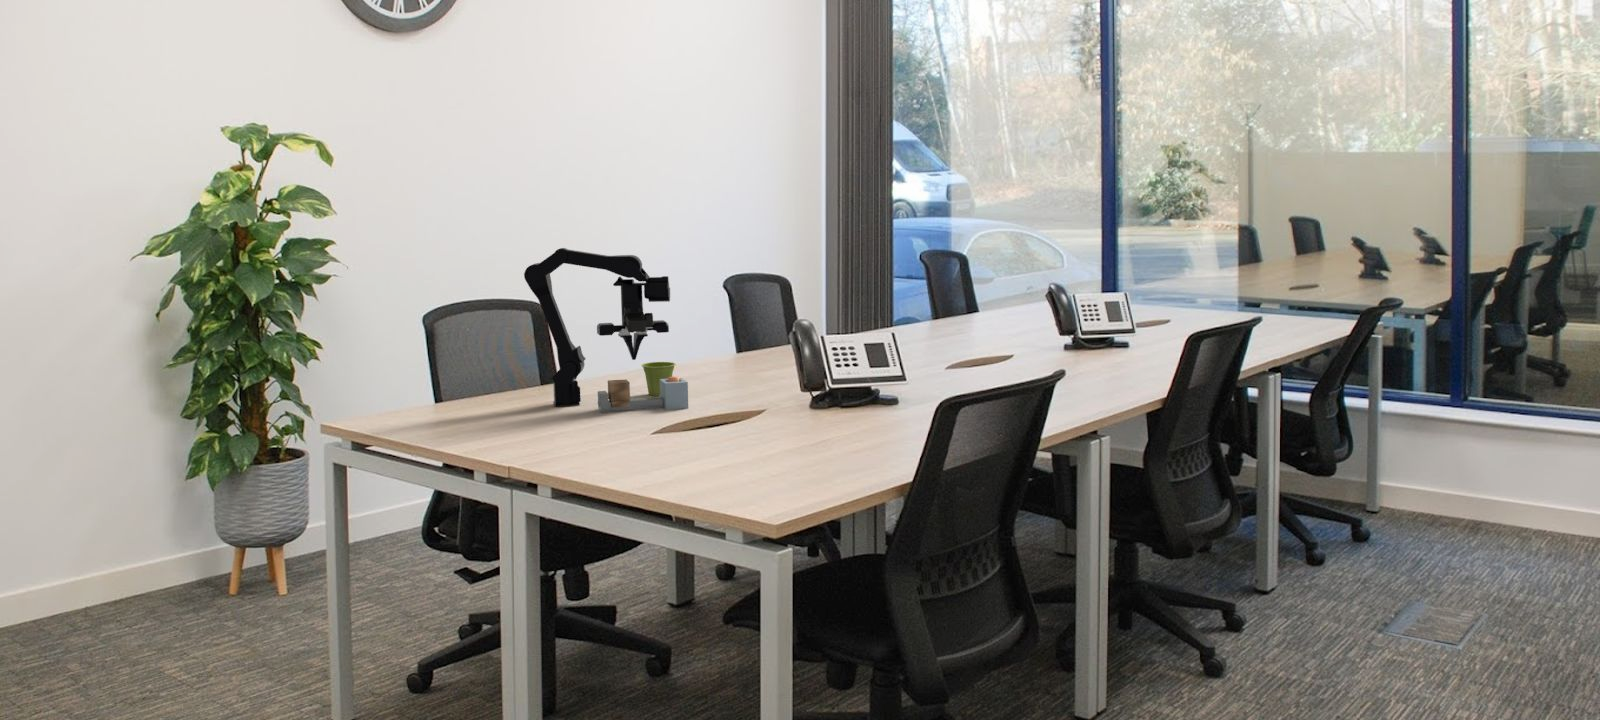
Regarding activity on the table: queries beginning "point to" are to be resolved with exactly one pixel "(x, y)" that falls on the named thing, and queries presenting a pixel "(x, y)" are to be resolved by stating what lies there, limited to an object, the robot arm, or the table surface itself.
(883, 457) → the table surface
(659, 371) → the plant pot
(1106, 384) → the table surface
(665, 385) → the blue grey open box
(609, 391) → the block
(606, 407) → the rail
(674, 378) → the brown egg
